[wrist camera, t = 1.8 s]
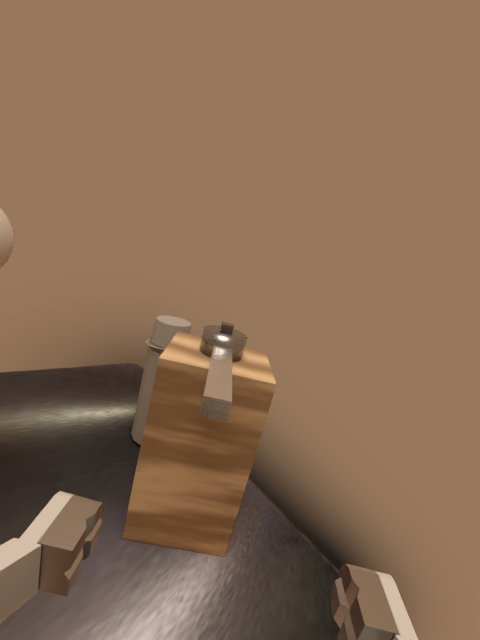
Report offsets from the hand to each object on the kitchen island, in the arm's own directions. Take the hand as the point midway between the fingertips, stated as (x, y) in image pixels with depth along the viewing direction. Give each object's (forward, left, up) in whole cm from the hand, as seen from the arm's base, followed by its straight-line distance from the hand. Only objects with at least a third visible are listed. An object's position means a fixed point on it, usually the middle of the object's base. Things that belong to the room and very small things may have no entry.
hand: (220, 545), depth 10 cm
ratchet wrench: (-12, +21, -4) cm, 24 cm away
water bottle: (-32, +35, -30) cm, 56 cm away
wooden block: (-15, +26, -30) cm, 42 cm away
